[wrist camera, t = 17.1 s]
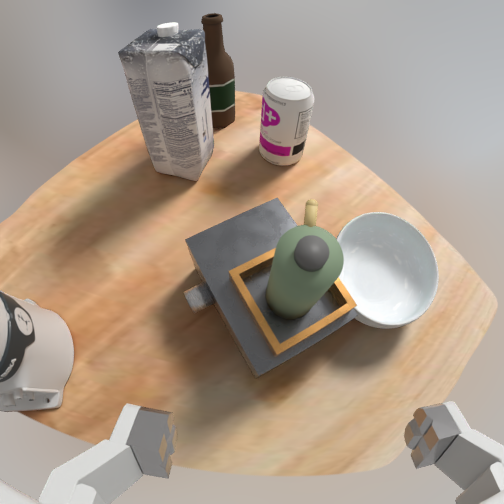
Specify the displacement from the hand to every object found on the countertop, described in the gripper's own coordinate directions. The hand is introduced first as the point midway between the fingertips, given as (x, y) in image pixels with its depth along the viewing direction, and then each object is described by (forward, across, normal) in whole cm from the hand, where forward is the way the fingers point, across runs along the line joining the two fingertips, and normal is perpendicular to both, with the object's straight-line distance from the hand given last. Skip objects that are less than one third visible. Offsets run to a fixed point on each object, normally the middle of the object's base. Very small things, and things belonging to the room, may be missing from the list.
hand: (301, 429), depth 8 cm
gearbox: (+31, +1, +13) cm, 34 cm away
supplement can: (+52, -3, -8) cm, 53 cm away
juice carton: (+49, +15, -5) cm, 52 cm away
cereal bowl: (+34, -17, +10) cm, 40 cm away
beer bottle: (+59, +10, -14) cm, 61 cm away
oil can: (+25, -3, +7) cm, 26 cm away
